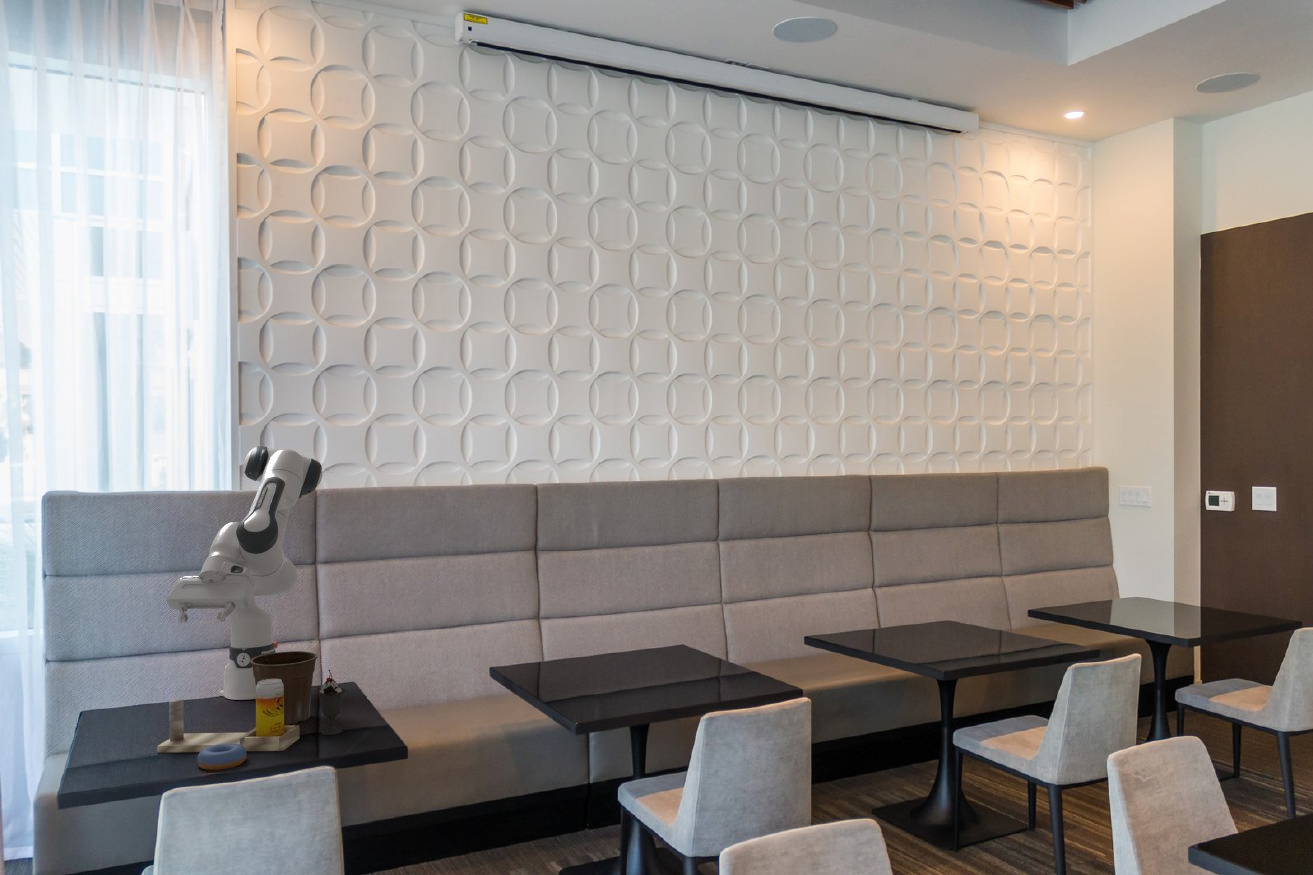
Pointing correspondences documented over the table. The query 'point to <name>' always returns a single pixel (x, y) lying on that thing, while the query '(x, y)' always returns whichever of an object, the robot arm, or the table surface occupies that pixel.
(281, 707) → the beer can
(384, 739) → the table surface
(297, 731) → the wooden peg stand
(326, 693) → the sundae
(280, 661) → the plant pot
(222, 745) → the doughnut
